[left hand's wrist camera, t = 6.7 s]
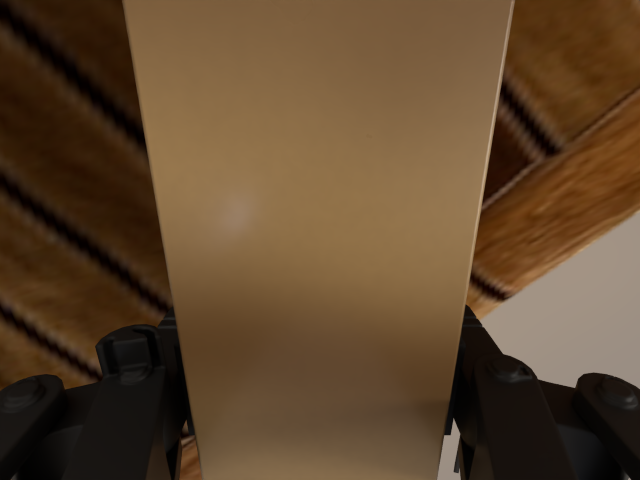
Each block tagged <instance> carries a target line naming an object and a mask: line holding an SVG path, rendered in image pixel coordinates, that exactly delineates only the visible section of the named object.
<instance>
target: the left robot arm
mask: <svg viewBox="0 0 640 480" xmlns="http://www.w3.org/2000/svg"><path fill="white" fill-rule="evenodd" d="M95 348H96V351H97V355H98V359H99V363H100V366H101V370H102V374H103V379H102V381H100V382H96V383H93V384H89V385H84V386H79V387H75V388H70V389H66V390H65V388H64V385H63V382H62V380H61V379H60V378H59V377H57V376H55V375H48V374H44V375H37V376H32V377H28V378H26V379H22V380H19V381H17V382H15V383H13V384H11V385H9V386H7V387H6V388H4V389H3V390H1V391H0V480H11V479H12V480H179V477H180V467H181V457H182V445H181V439H180V433H181V431H182V428H183V426H184V423H185V421H186V420H187V425H188V431H189V435H195V433H194V427H193V421H192V415H191V409H190V403H189V397H188V391H187V385H186V379H185V373H184V367H183V361H182V355H181V349H180V343H179V337H178V331H177V325H176V319H175V313H174V307H172V308H170V310H169V311H168V313H167V314H166V315H165V317H164V320H162V321H161V323H160V324H159V325H158V328H156V327H155V326H151V325H147V324H140V325H131V326H127V327H123V328H120V329H118V330H115V331H113V332H111V333H109V334H108V335H106V336H105V337H103V338H102V339H101V340H100V341H99V342H98V343H97V345H96V346H95ZM453 418H454V420H455V422H456V425H457V427H458V429H459V432H460V439H459V445H458V450H457V455H456V461H455V466H454V472H456V473H459V468H460V476H461V480H628V478H630V479H631V480H640V389H639V388H637V387H636V386H634V385H632V384H630V383H628V382H626V381H624V380H622V379H620V378H617V377H614V376H611V375H607V374H600V373H588V374H583V375H582V376H581V377H580V378H579V379H578V381H577V384H576V387H575V388H572V387H568V386H563V385H559V384H554V383H549V382H545V381H542V380H538V379H537V376H536V375H535V373H534V372H533V371H532V369H531V368H530V367H528V366H527V365H526V364H524V363H523V362H522V361H520V360H518V359H516V358H513V357H511V356H508V355H504V354H503V353H502V352H501V351H500V349H499V348H498V346H497V345H496V344H495V342H494V341H493V339H492V338H491V337H490V335H489V334H488V332H487V331H486V330H485V328H484V327H482V324H481V323H480V321H479V320H478V319H476V316H475V314H474V313H473V311H472V310H471V309H470V307H469V306H467V305H466V304H465V310H464V316H463V322H462V328H461V335H460V341H459V347H458V353H457V359H456V365H455V371H454V378H453V384H452V390H451V396H450V402H449V408H448V415H447V421H446V427H445V433H444V435H451V430H452V424H453Z"/></svg>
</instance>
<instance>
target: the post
mask: <svg viewBox="0 0 640 480" xmlns="http://www.w3.org/2000/svg"><path fill="white" fill-rule="evenodd" d="M514 2H515V0H122V3H123V9H124V15H125V21H126V27H127V33H128V39H129V45H130V50H131V56H132V62H133V68H134V74H135V80H136V86H137V92H138V98H139V104H140V110H141V116H142V122H143V128H144V134H145V140H146V146H147V152H148V158H149V164H150V170H151V176H152V182H153V188H154V194H155V200H156V206H157V212H158V218H159V224H160V230H161V236H162V242H163V248H164V254H165V260H166V265H167V271H168V277H169V283H170V289H171V295H172V301H173V307H174V313H175V319H176V325H177V331H178V337H179V343H180V349H181V355H182V361H183V367H184V373H185V379H186V385H187V391H188V397H189V403H190V409H191V415H192V421H193V427H194V433H195V439H196V445H197V451H198V457H199V463H200V469H201V474H202V480H437V476H438V470H439V464H440V458H441V451H442V445H443V439H444V433H445V427H446V421H447V415H448V408H449V402H450V396H451V390H452V384H453V378H454V371H455V365H456V359H457V353H458V347H459V341H460V335H461V328H462V322H463V316H464V310H465V304H466V298H467V291H468V285H469V279H470V273H471V267H472V261H473V255H474V248H475V242H476V236H477V230H478V224H479V218H480V212H481V205H482V199H483V193H484V187H485V181H486V175H487V168H488V162H489V156H490V150H491V144H492V138H493V132H494V125H495V119H496V113H497V107H498V101H499V95H500V89H501V82H502V76H503V70H504V64H505V58H506V52H507V45H508V39H509V33H510V27H511V21H512V15H513V9H514Z"/></svg>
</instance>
